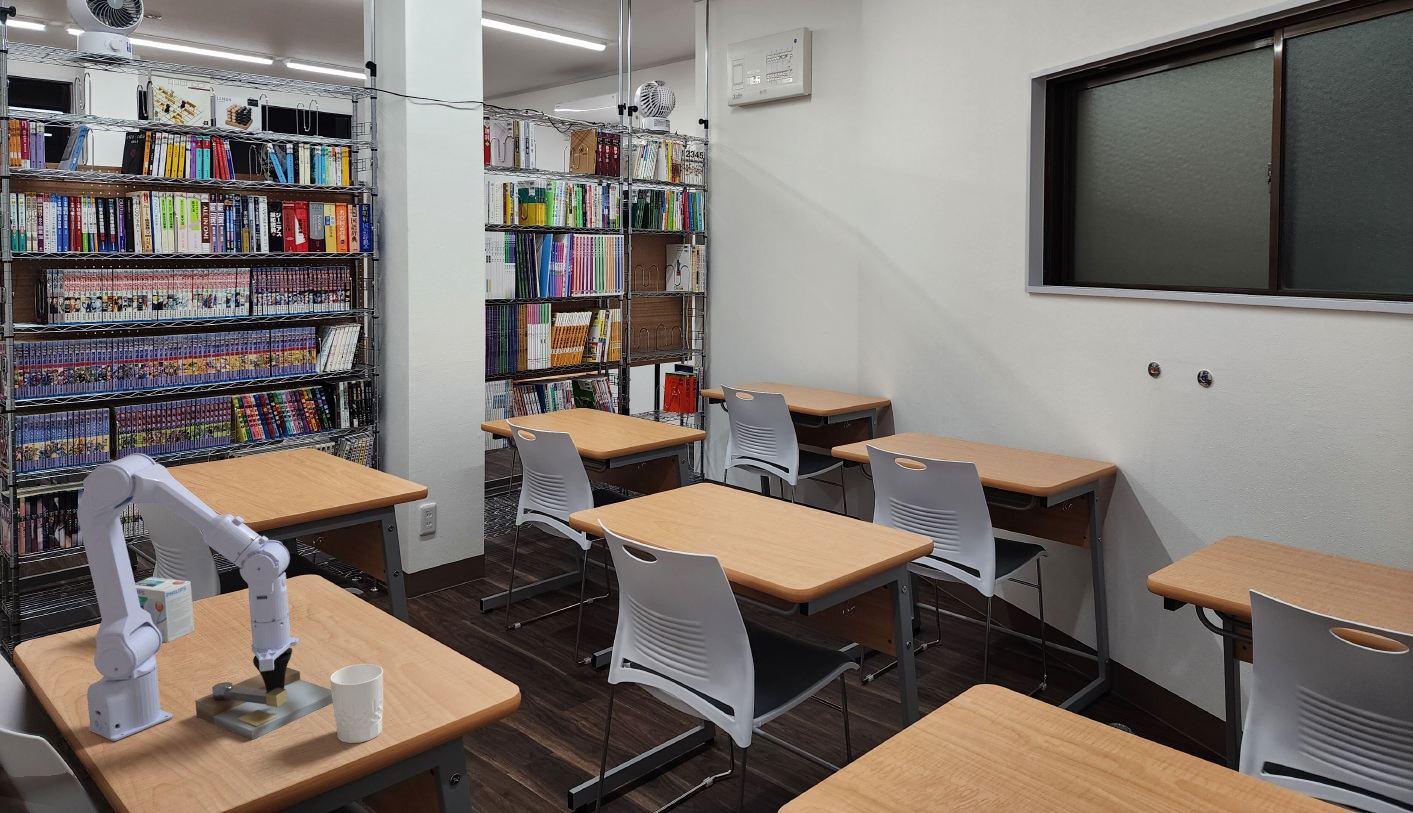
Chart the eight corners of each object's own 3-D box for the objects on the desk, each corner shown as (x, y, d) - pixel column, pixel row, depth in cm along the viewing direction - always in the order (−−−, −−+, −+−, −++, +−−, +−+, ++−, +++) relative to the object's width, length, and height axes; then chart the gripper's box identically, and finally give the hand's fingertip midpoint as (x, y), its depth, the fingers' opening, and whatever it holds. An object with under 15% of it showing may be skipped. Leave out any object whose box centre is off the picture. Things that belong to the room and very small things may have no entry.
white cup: (334, 726, 151) (330, 667, 149) (385, 718, 153) (382, 660, 152) (333, 749, 143) (329, 688, 142) (387, 740, 146) (383, 680, 145)
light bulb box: (127, 637, 189) (122, 586, 187) (155, 625, 195) (151, 575, 194) (169, 643, 186) (164, 591, 184) (196, 630, 192) (192, 580, 191)
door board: (252, 739, 146) (251, 721, 146) (196, 717, 154) (195, 699, 154) (338, 700, 160) (337, 683, 160) (283, 681, 168) (281, 665, 167)
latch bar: (208, 699, 154) (207, 687, 153) (222, 691, 156) (221, 680, 156) (275, 707, 150) (275, 696, 150) (288, 699, 153) (287, 688, 153)
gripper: (291, 629, 147) (297, 710, 149) (301, 599, 160) (306, 674, 162) (242, 635, 145) (248, 717, 146) (256, 604, 158) (262, 679, 160)
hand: (275, 695), depth 154 cm, fingers closed, pressing on latch bar
